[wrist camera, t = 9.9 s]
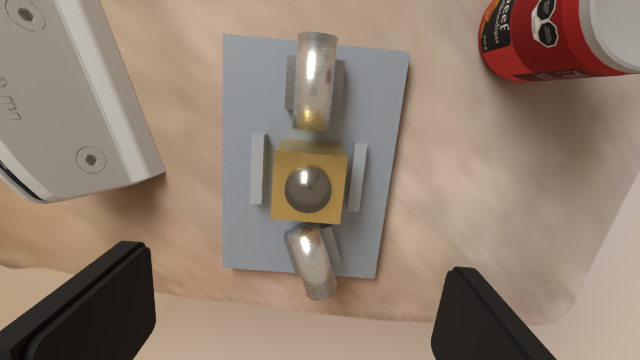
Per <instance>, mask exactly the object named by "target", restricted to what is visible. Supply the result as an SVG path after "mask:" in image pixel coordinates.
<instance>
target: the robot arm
mask: <svg viewBox="0 0 640 360" xmlns="http://www.w3.org/2000/svg"><path fill="white" fill-rule="evenodd" d="M155 323H156V313H155V300H154V288H153V276H152V263H151V252H150V249H149V248H148V247H146V246H145V244H144V243H143V242H133V241H121V242H119V243H118V244H116V245H115V246H114V247H112V248H111V249H110V250H108V251H107V252H106V253H104V254H103V255H102V256H100V257H99V258H98V259H96V260H95V261H94V262H92V263H91V264H89V265H88V266H87V267H85V268H84V269H83V270H81V271H80V272H79V273H77V274H76V275H75V276H73V277H72V278H71V279H69V280H68V281H67V282H66V283H64V284H63V285H61V286H60V287H59V288H58V289H56V290H55V291H53V292H52V293H51V294H49V295H48V296H47V297H45V298H44V299H43V300H41V301H40V302H39V303H37V304H36V305H35V306H33V307H32V308H31V309H29V310H28V311H26V312H25V313H24V314H22V315H21V316H20V317H18V318H17V319H16V320H14V321H13V322H12V323H10V324H9V325H8V326H6V327H5V328H4V329H2V330H1V331H0V360H133V359H134V357H135V356H136V355H137V353H138V352H139V350H140V348H141V347H142V346H143V345H144V343H145V342H146V340H147V339H148V337H149V336H150V334H151V333H152V331H153V329H154V327H155ZM431 347H432V351H433V354H434V356H435V358H436V360H556V358H555V357H554V356H553V355H552V354H551V353H550V352H549V351H548V350H547V348H546V347H545V346H544V345H543V344H542V343H541V342H540V340H539V339H538V338H537V337H536V336H535V335H534V334H533V333H532V332H531V330H530V329H529V328H528V327H527V326H526V325H525V324H524V322H523V321H522V320H521V319H520V318H519V317H518V316H517V315H516V313H515V312H514V311H513V310H512V309H511V308H510V307H509V306H508V304H507V303H506V302H505V301H504V300H503V299H502V298H501V297H500V295H499V294H498V293H497V292H496V291H495V290H494V289H493V288H492V286H491V285H490V284H489V283H488V282H487V281H486V280H485V279H484V277H483V276H482V275H481V274H480V273H479V272H478V271H477V270H476V269H475V268H468V267H454V268H453V269H452V271H448V273H447V275H446V279H445V283H444V287H443V292H442V296H441V300H440V304H439V308H438V312H437V316H436V321H435V325H434V329H433V333H432V337H431Z"/></svg>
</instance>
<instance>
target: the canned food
mask: <svg viewBox="0 0 640 360" xmlns="http://www.w3.org/2000/svg"><path fill="white" fill-rule="evenodd" d="M478 41H479V49H480V53H481V56H482V58H483V60H484V62H485V63H486V65H487V66H488V68H489V69H491V70H492V71H493V72H494V73H495V74H497V75H499V76H501V77H503V78H505V79H507V80H511V81H514V82H532V81H546V80H561V79H575V78H590V77H605V76H619V75H627V74H640V0H493V1H492V2H491V4H490V5H489V6H488V8H487V9H486V11H485V13H484V15H483V17H482V20H481V24H480V27H479V34H478Z"/></svg>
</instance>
